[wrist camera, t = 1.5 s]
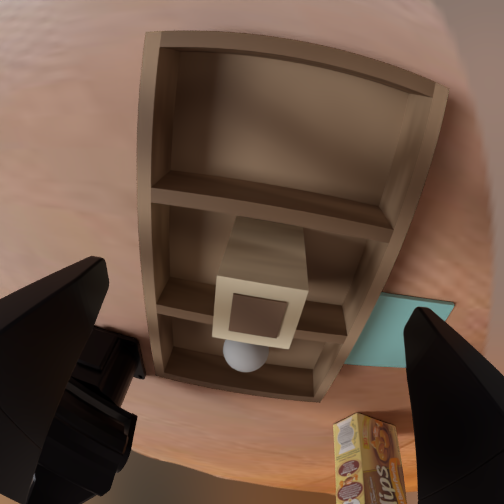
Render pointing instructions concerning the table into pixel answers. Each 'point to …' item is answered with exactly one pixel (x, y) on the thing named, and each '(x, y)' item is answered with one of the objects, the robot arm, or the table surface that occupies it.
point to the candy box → (367, 462)
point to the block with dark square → (261, 283)
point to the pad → (390, 330)
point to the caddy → (273, 190)
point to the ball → (245, 355)
